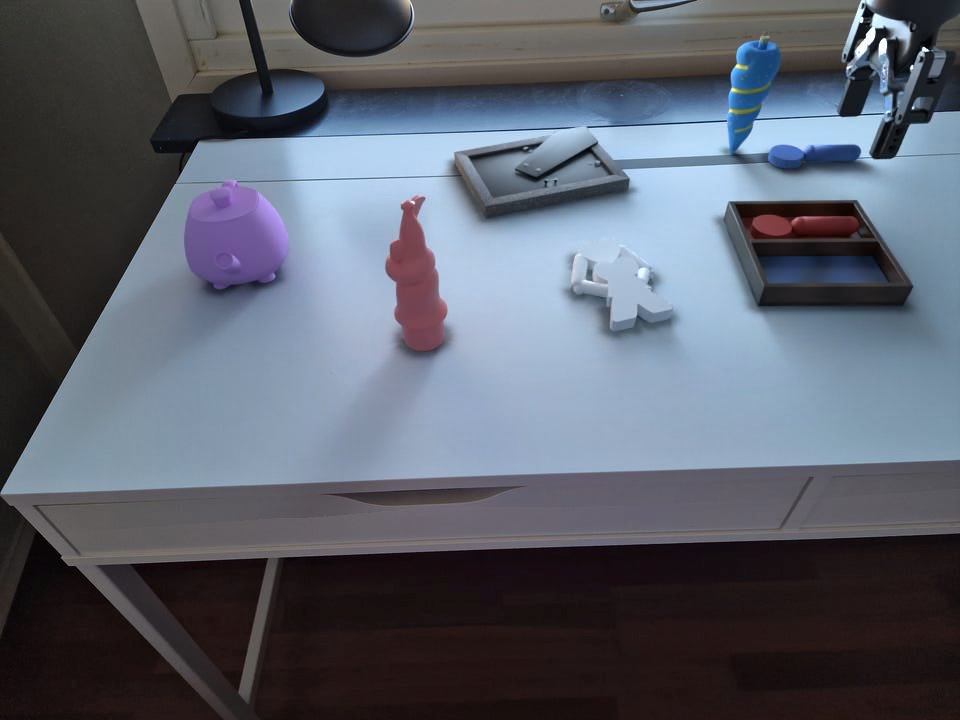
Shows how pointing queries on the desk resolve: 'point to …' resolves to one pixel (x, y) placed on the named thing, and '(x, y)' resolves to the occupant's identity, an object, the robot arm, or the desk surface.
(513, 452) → the desk surface
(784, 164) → the blue spoon
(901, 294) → the cutlery tray
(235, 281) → the teapot
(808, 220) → the red spoon
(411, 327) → the figurine
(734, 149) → the ornament
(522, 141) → the picture frame
